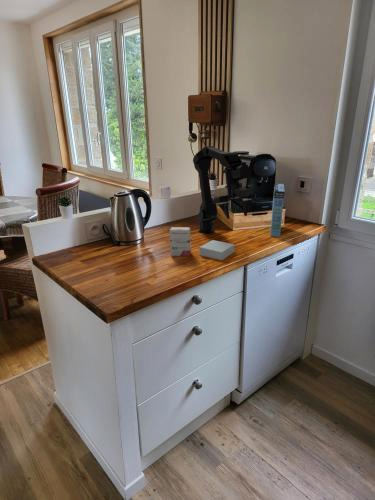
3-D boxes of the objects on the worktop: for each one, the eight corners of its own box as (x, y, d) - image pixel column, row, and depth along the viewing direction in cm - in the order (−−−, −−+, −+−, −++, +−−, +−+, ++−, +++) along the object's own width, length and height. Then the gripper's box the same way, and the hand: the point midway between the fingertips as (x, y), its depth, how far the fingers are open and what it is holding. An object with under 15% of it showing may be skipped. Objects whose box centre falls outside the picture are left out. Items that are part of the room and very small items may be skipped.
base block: (199, 255, 147) (199, 247, 146) (212, 248, 156) (212, 240, 154) (221, 261, 141) (221, 252, 140) (233, 252, 150) (234, 244, 148)
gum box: (270, 225, 186) (274, 183, 178) (280, 225, 185) (284, 183, 177) (270, 236, 168) (273, 190, 160) (280, 237, 167) (284, 191, 159)
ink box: (191, 252, 150) (190, 226, 146) (190, 256, 146) (189, 230, 141) (171, 251, 151) (170, 226, 147) (170, 255, 146) (169, 229, 142)
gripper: (224, 181, 137) (229, 219, 138) (261, 177, 144) (265, 213, 146) (210, 185, 147) (215, 220, 148) (246, 181, 154) (250, 215, 156)
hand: (237, 217), depth 150 cm, fingers open, 9 cm apart
